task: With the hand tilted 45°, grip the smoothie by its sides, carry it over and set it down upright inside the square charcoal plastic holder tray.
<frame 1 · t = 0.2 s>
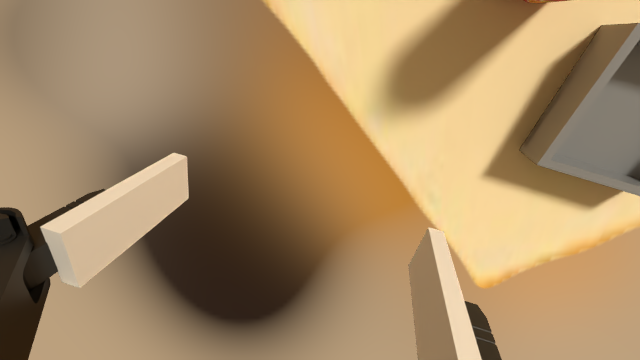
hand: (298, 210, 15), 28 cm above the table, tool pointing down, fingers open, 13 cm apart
holder tray: (619, 112, 33), on the table
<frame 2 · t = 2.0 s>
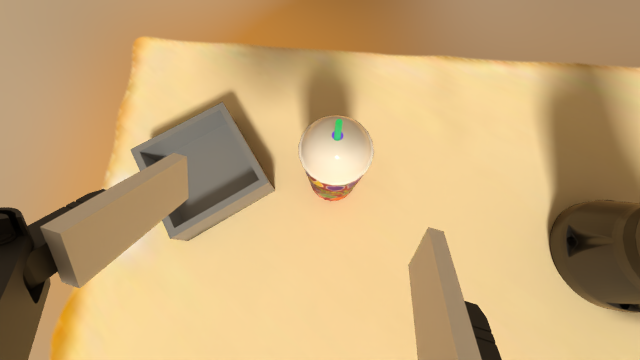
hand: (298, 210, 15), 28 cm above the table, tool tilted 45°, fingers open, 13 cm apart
holder tray: (211, 175, 44), on the table
smoothie: (332, 181, 44), on the table
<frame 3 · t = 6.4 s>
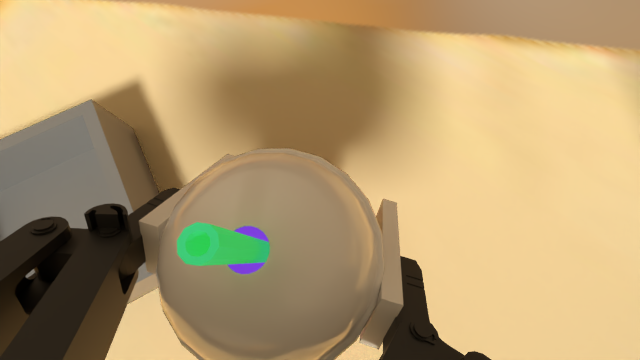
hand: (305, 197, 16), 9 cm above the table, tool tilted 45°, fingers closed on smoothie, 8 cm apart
holder tray: (77, 234, 24), on the table
smoothie: (299, 256, 24), on the table, touching gripper
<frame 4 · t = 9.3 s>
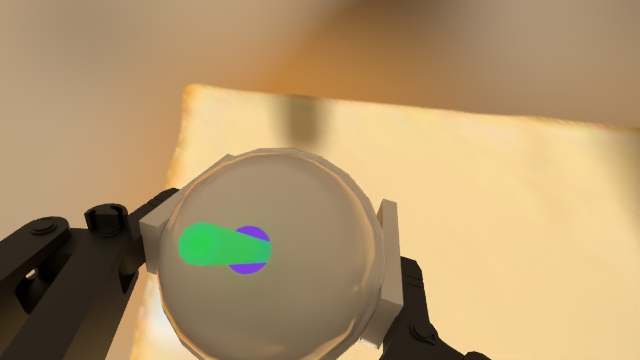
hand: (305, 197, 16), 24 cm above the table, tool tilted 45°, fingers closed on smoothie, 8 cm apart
smoothie: (299, 256, 23), point 16 cm above the table, touching gripper
when the fingers open (11 cm above the table, at t = 12.3 s): smoothie drops 1 cm, resting on holder tray.
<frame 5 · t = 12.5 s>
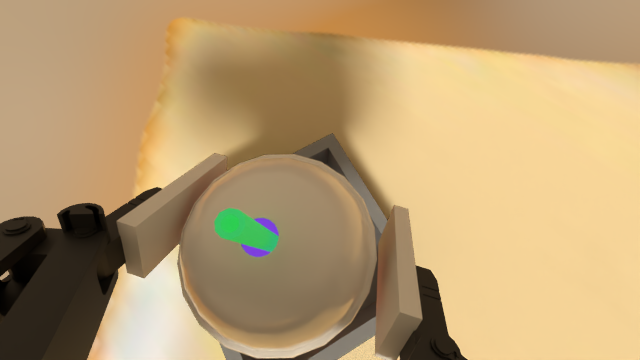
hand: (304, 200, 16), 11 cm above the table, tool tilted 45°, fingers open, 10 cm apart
holder tray: (301, 256, 26), on the table
smoothie: (301, 256, 25), point 1 cm above the table, touching holder tray
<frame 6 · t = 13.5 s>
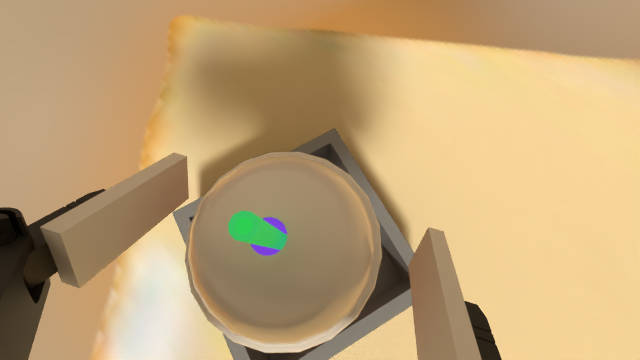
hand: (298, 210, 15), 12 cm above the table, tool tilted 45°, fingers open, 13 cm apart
holder tray: (303, 251, 26), on the table
smoothie: (303, 250, 25), point 1 cm above the table, touching holder tray
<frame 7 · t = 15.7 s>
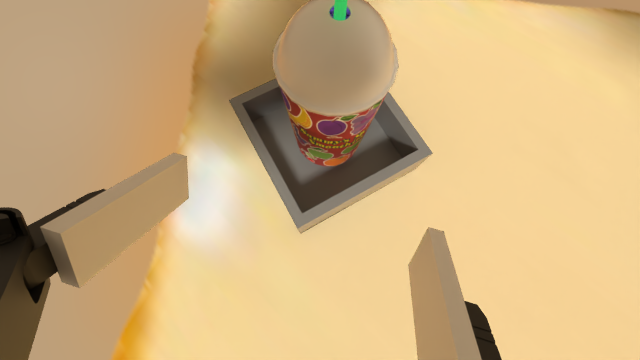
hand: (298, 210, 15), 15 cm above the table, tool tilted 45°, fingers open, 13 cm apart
holder tray: (326, 145, 32), on the table
smoothie: (327, 143, 32), point 1 cm above the table, touching holder tray
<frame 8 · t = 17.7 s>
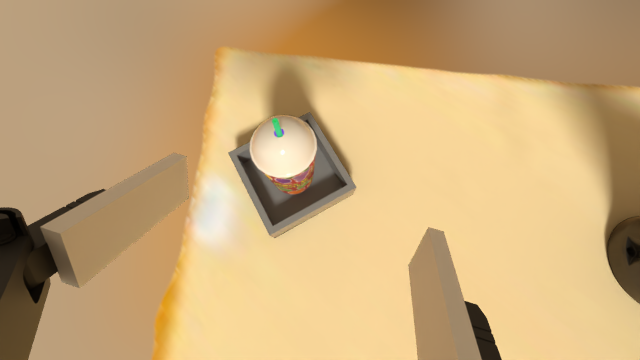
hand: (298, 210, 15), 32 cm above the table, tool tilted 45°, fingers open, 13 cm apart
holder tray: (294, 178, 48), on the table
smoothie: (293, 177, 47), point 1 cm above the table, touching holder tray
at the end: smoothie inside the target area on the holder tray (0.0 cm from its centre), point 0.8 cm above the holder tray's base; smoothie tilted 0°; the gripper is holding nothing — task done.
